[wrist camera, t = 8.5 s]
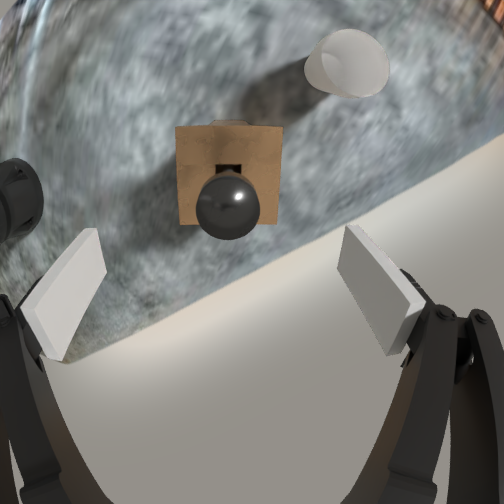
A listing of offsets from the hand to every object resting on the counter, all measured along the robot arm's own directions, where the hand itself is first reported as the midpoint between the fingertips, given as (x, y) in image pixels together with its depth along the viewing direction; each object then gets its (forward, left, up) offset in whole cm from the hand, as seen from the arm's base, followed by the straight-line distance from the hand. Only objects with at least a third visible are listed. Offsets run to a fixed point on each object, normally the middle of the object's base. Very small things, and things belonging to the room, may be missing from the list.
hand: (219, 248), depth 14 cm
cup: (+14, +14, -30) cm, 36 cm away
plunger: (0, 0, -26) cm, 26 cm away
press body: (0, -1, -30) cm, 30 cm away
